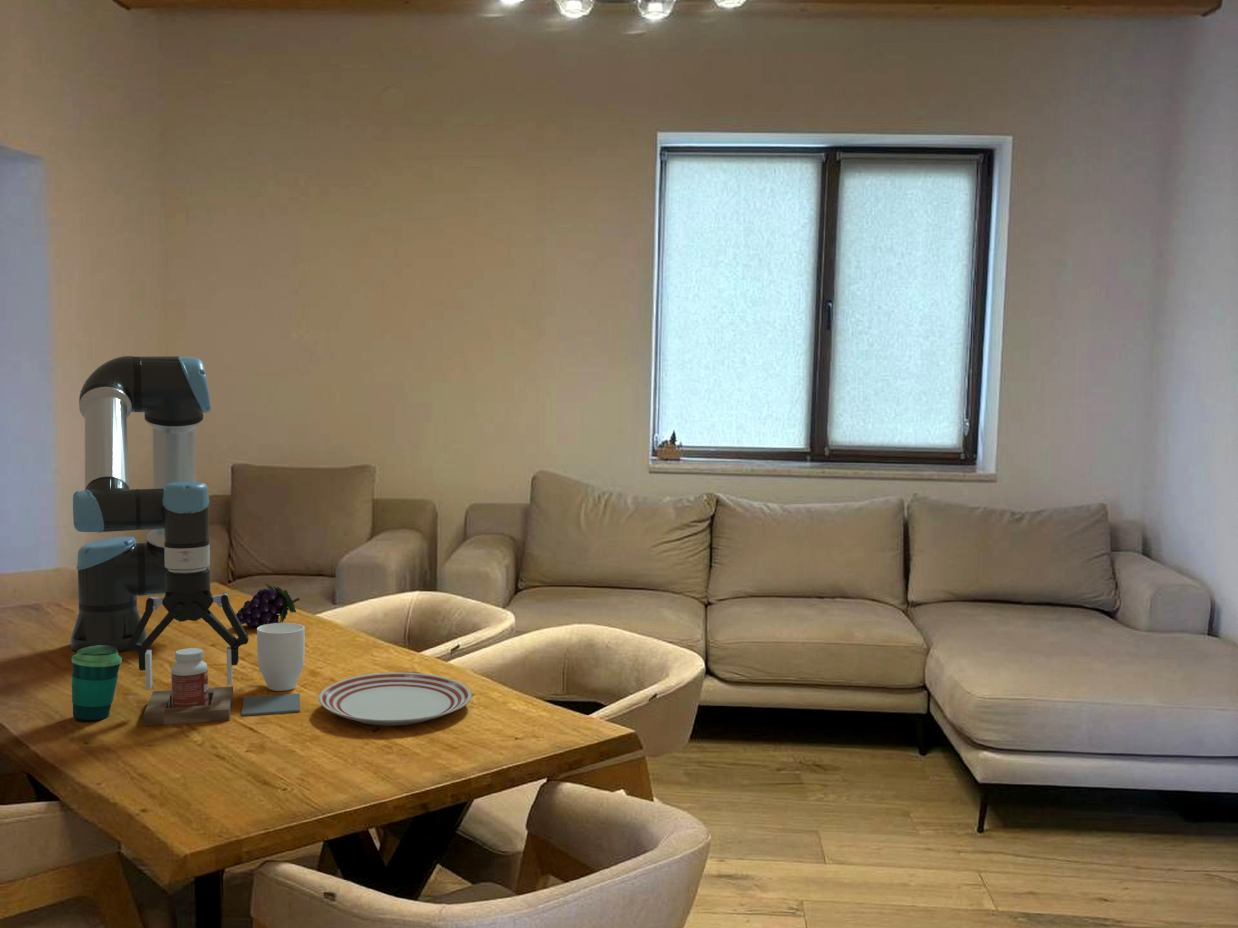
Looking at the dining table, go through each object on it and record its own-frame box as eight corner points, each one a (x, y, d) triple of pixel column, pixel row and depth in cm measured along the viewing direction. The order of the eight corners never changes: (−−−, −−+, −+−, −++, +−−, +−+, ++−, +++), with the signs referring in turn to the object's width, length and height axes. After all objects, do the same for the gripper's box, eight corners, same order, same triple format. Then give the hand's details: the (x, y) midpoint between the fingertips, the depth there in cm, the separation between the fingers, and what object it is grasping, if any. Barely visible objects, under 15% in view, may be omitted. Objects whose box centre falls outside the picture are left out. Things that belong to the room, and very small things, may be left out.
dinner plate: (496, 697, 212) (496, 680, 211) (425, 744, 186) (425, 724, 186) (371, 681, 221) (371, 664, 220) (287, 723, 195) (287, 705, 195)
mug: (313, 688, 214) (313, 627, 213) (270, 697, 208) (270, 635, 207) (284, 675, 223) (284, 616, 222) (243, 683, 217) (242, 623, 216)
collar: (153, 701, 205) (153, 691, 204) (233, 696, 209) (233, 686, 208) (143, 726, 191) (143, 715, 191) (229, 720, 195) (228, 709, 195)
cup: (73, 711, 198) (71, 646, 197) (123, 706, 202) (121, 642, 200) (71, 725, 191) (69, 657, 190) (122, 720, 194) (121, 653, 193)
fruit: (238, 637, 263) (297, 614, 271) (251, 640, 254) (311, 616, 262) (224, 597, 261) (284, 575, 270) (236, 598, 253) (298, 575, 261)
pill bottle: (212, 712, 199) (211, 652, 198) (176, 718, 196) (174, 657, 195) (204, 703, 204) (203, 644, 203) (168, 708, 201) (167, 649, 200)
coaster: (244, 698, 207) (244, 696, 207) (299, 695, 210) (299, 693, 210) (241, 715, 198) (241, 713, 198) (299, 711, 200) (299, 709, 200)
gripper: (108, 575, 190) (111, 695, 192) (260, 570, 197) (261, 686, 199) (114, 567, 197) (117, 683, 199) (261, 562, 204) (263, 674, 206)
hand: (189, 685), depth 199 cm, fingers open, 13 cm apart
